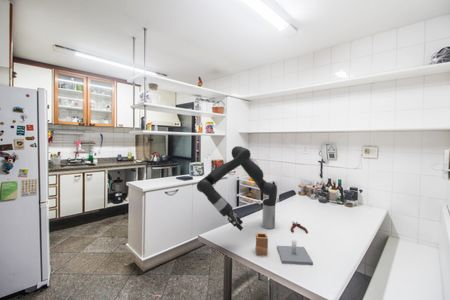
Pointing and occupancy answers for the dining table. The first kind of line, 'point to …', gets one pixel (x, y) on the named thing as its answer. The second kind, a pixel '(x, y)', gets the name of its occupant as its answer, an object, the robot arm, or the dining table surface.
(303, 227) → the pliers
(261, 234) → the collar
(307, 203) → the dining table surface
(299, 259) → the post base
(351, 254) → the dining table surface
